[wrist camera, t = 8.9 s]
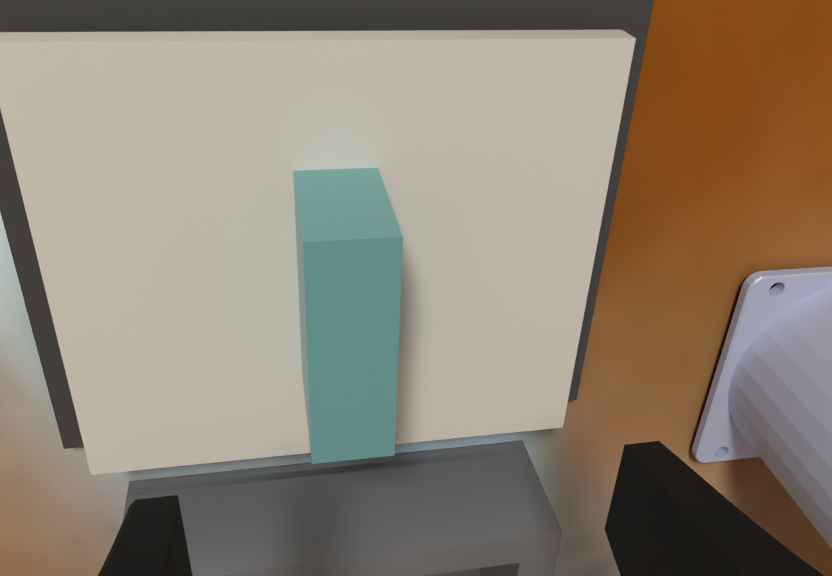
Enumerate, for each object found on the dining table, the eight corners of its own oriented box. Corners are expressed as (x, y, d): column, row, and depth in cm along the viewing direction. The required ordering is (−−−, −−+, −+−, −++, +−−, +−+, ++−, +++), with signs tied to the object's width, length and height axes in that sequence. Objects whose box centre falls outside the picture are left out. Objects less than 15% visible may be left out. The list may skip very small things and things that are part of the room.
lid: (612, 23, 19) (710, 85, 15) (548, 398, 26) (606, 513, 22) (1, 25, 17) (-75, 99, 13) (98, 440, 23) (68, 579, 19)
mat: (649, -15, 19) (656, -12, 19) (572, 392, 26) (576, 400, 26) (-55, -19, 16) (-61, -15, 16) (66, 439, 23) (64, 448, 23)
